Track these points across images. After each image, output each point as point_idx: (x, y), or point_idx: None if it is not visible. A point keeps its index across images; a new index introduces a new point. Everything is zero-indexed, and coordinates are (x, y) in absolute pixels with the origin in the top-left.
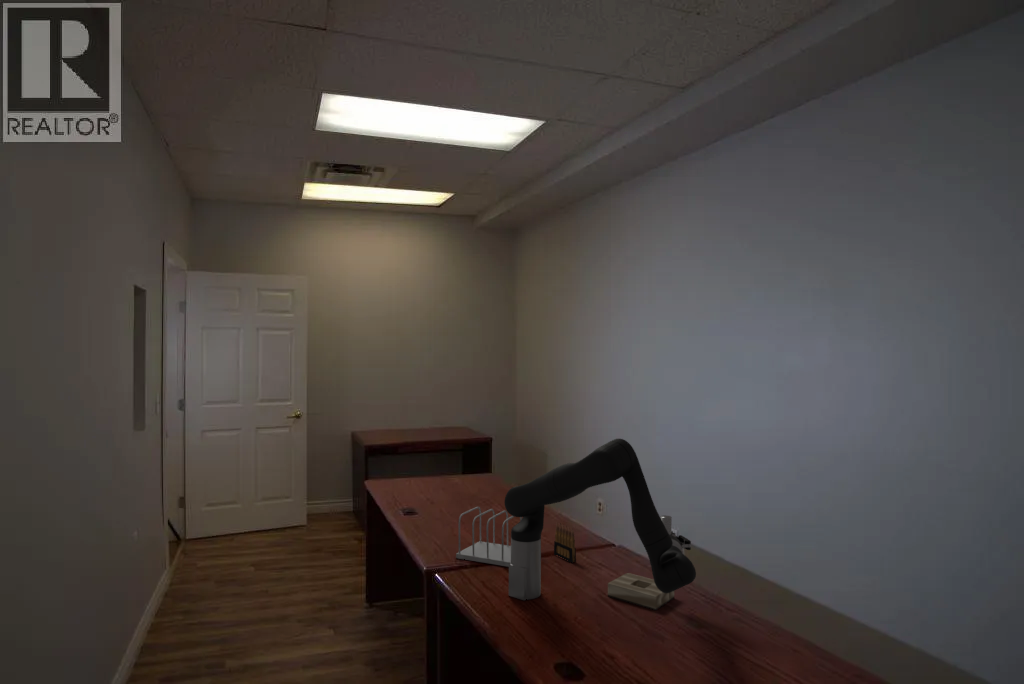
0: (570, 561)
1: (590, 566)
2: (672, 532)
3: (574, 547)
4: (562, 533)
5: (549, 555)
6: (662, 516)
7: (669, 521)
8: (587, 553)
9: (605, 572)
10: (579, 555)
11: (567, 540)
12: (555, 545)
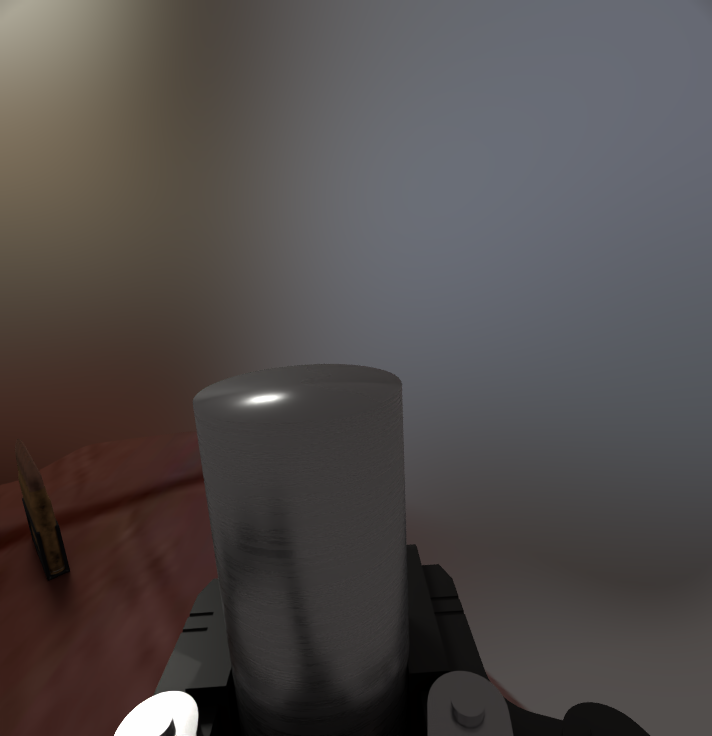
0: (45, 573)
1: (104, 590)
2: (419, 583)
3: (50, 526)
4: (22, 477)
5: (13, 542)
6: (239, 386)
7: (365, 476)
8: (151, 510)
9: (135, 630)
10: (117, 525)
11: (28, 503)
12: (25, 511)
